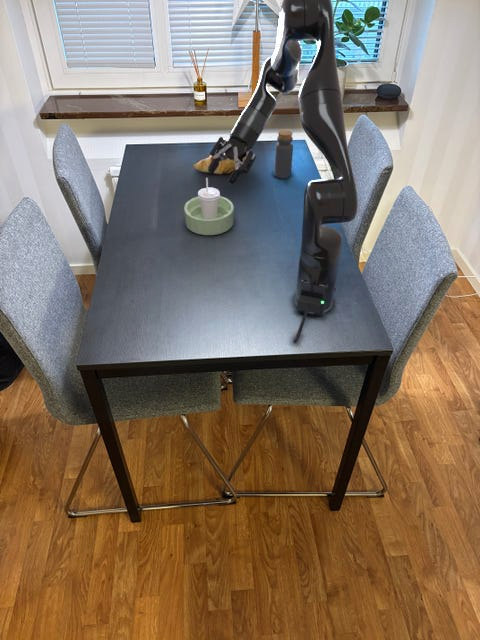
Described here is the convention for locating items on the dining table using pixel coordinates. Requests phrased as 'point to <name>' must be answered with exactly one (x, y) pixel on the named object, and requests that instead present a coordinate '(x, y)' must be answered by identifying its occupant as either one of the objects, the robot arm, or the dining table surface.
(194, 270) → the dining table surface
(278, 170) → the bottle
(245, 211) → the dining table surface
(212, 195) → the smoothie
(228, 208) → the bowl
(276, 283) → the dining table surface
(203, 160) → the croissant
